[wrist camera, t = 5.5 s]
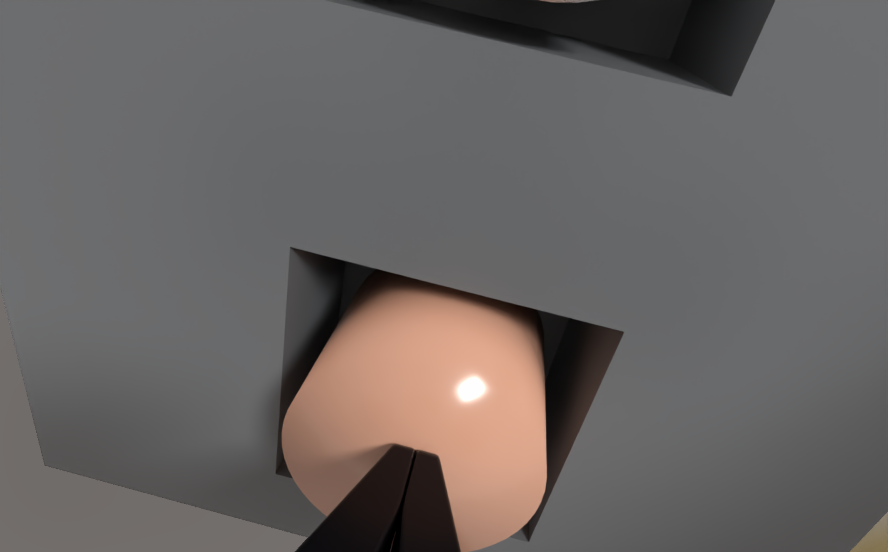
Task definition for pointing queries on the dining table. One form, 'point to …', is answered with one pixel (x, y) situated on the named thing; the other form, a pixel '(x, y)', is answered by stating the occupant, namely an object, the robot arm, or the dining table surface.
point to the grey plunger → (573, 0)
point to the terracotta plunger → (428, 402)
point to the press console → (464, 242)
